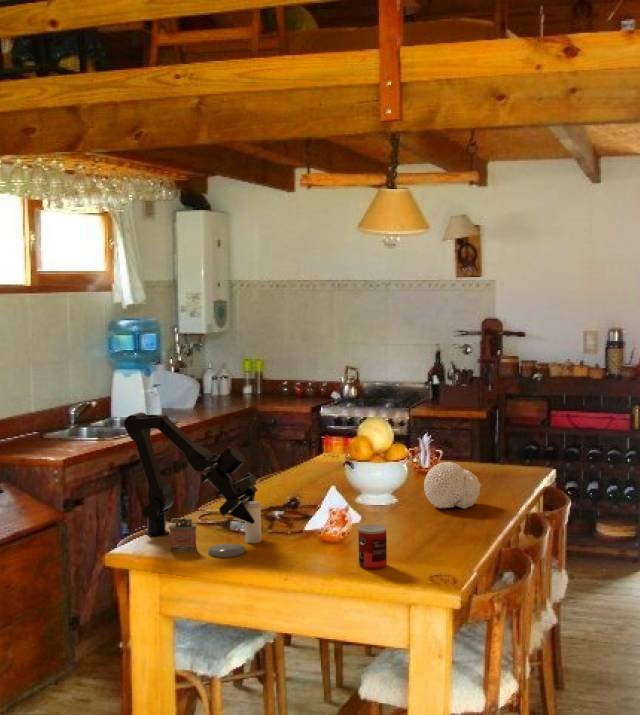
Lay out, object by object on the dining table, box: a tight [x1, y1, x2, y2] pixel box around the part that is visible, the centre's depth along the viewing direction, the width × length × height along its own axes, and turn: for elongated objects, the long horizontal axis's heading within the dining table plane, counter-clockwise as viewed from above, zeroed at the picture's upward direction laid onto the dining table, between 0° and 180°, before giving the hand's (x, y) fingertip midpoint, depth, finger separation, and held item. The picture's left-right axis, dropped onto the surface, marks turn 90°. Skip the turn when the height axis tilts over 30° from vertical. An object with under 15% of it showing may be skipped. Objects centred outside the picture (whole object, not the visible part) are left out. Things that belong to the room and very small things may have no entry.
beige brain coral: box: [423, 461, 482, 509], centre depth 340 cm, size 20×18×16 cm
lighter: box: [168, 516, 198, 553], centre depth 294 cm, size 8×3×10 cm, turn 92°
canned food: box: [357, 524, 388, 571], centre depth 276 cm, size 8×8×11 cm
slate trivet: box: [207, 543, 246, 559], centre depth 292 cm, size 11×11×1 cm
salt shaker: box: [244, 500, 262, 544], centre depth 302 cm, size 5×5×12 cm
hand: (257, 520), depth 302 cm, fingers closed on salt shaker, 5 cm apart
